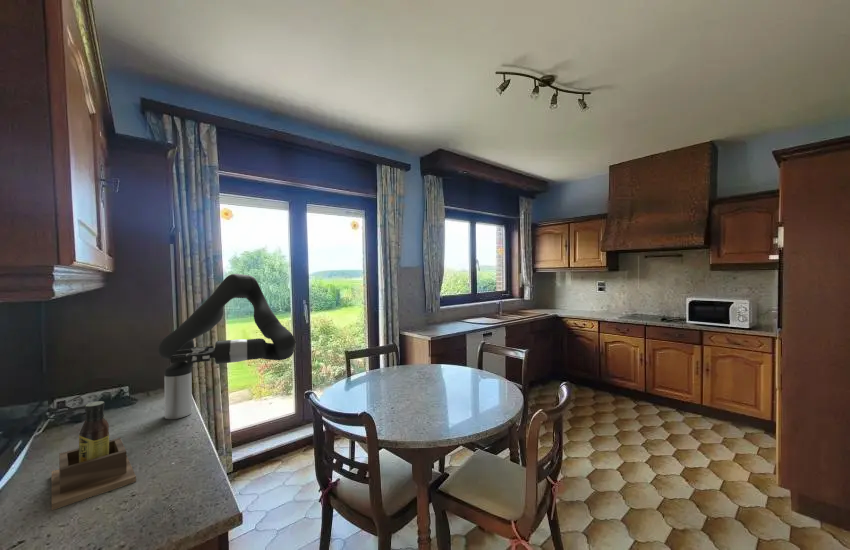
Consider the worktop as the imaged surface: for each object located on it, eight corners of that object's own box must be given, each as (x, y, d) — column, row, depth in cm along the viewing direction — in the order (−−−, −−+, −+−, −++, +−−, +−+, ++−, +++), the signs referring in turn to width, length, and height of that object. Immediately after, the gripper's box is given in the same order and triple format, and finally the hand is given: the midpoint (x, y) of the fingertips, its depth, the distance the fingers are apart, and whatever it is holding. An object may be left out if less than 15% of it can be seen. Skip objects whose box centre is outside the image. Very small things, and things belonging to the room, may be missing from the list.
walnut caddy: (51, 476, 100) (51, 450, 100) (124, 455, 112) (124, 431, 112) (51, 510, 85) (51, 479, 85) (136, 481, 97) (135, 454, 97)
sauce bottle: (77, 473, 98) (78, 403, 99) (107, 464, 103) (107, 397, 103) (79, 482, 94) (79, 408, 94) (110, 472, 99) (110, 402, 99)
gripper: (232, 337, 123) (177, 341, 116) (230, 343, 111) (168, 348, 103) (232, 358, 123) (177, 363, 116) (231, 366, 111) (168, 373, 103)
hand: (173, 356), depth 110 cm, fingers open, 8 cm apart
